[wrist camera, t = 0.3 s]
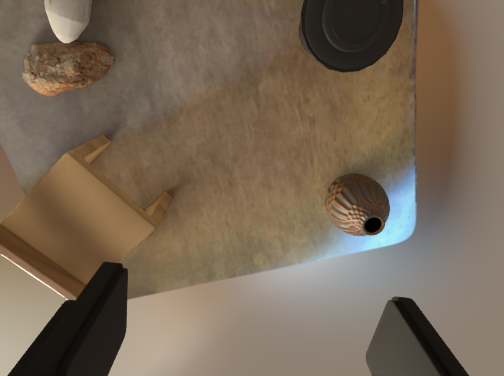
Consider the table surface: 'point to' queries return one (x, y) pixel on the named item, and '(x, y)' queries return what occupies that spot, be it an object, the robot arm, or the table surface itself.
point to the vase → (357, 205)
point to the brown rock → (65, 65)
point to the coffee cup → (349, 31)
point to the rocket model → (68, 17)
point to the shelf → (75, 223)
